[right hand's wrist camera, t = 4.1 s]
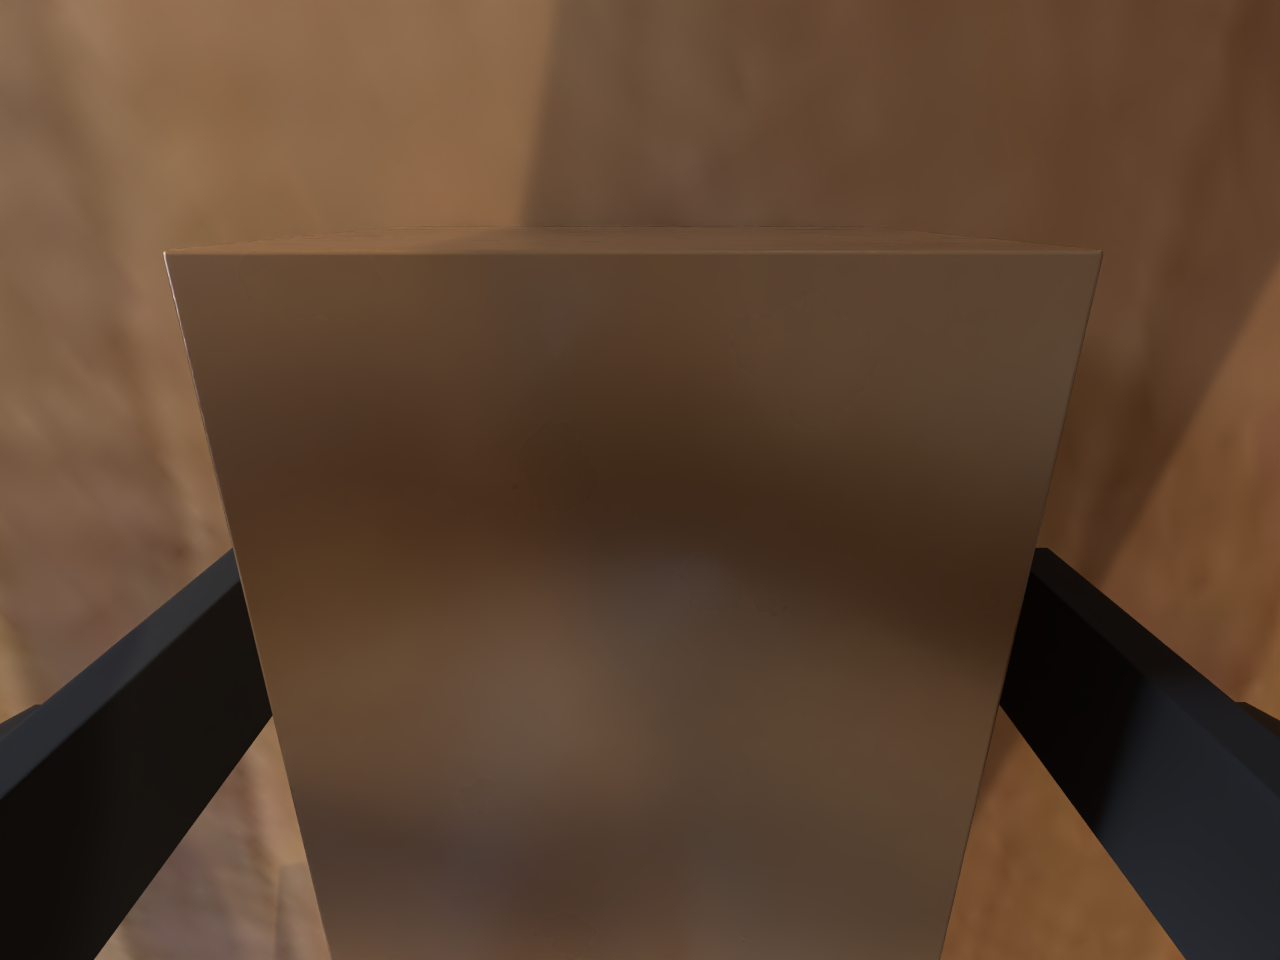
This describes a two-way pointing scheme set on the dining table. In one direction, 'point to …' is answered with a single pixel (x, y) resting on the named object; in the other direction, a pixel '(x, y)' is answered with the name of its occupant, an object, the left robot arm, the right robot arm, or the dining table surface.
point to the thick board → (634, 569)
